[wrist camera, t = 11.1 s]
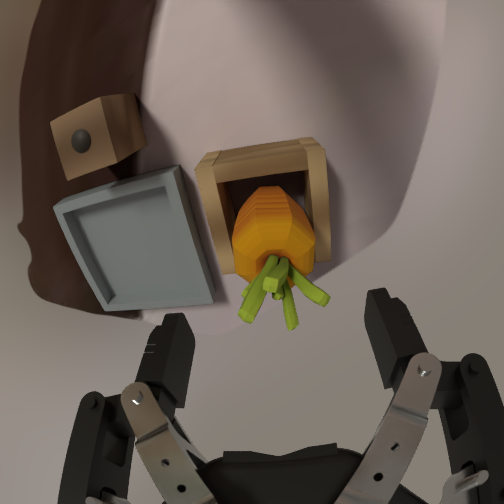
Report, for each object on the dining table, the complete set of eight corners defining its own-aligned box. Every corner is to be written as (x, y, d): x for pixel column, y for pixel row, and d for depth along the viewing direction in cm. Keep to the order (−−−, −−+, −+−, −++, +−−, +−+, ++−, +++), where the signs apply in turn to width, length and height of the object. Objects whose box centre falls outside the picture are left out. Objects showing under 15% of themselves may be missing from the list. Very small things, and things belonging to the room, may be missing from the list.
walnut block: (89, 111, 20) (49, 122, 15) (134, 92, 20) (99, 96, 14) (102, 159, 23) (66, 181, 18) (147, 144, 22) (116, 163, 17)
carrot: (305, 177, 24) (358, 286, 11) (283, 224, 26) (305, 358, 13) (250, 157, 23) (241, 250, 10) (232, 207, 25) (207, 336, 13)
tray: (64, 198, 25) (52, 206, 23) (179, 164, 23) (172, 171, 21) (111, 299, 32) (105, 311, 30) (216, 289, 30) (213, 303, 29)
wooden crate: (206, 153, 23) (194, 169, 18) (311, 137, 22) (324, 149, 17) (228, 243, 27) (222, 274, 23) (320, 231, 26) (331, 260, 22)
